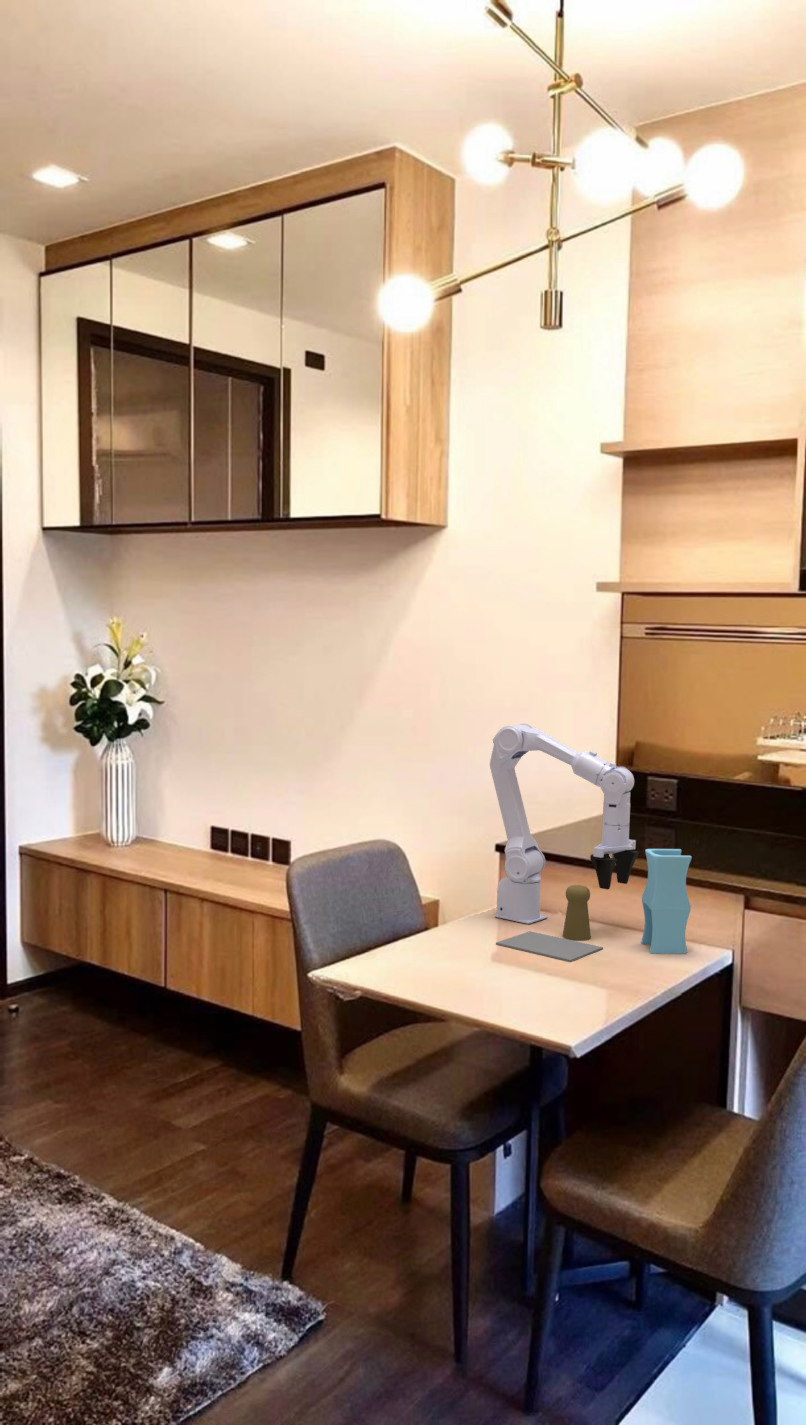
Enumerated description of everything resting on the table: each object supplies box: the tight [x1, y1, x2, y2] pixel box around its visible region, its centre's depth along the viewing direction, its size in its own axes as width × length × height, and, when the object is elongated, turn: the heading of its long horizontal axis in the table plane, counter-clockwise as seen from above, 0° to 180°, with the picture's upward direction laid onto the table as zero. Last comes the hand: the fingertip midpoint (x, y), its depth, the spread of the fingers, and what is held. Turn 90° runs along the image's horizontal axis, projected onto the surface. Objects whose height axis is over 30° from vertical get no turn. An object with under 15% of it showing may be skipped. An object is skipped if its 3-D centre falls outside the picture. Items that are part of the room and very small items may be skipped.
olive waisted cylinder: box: [562, 884, 592, 942], centre depth 232 cm, size 6×6×11 cm
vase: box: [640, 848, 692, 955], centre depth 224 cm, size 8×8×20 cm
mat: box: [495, 930, 604, 963], centre depth 224 cm, size 18×12×1 cm
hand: (613, 885), depth 236 cm, fingers open, 7 cm apart
